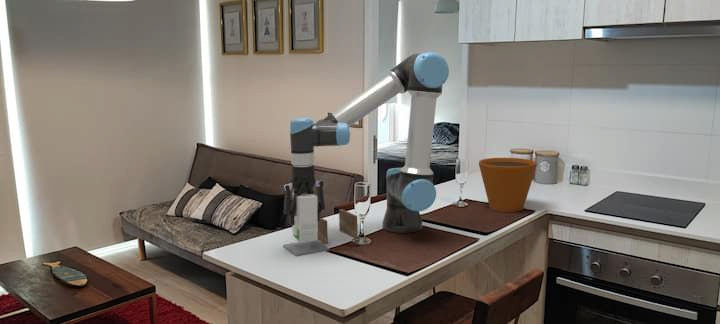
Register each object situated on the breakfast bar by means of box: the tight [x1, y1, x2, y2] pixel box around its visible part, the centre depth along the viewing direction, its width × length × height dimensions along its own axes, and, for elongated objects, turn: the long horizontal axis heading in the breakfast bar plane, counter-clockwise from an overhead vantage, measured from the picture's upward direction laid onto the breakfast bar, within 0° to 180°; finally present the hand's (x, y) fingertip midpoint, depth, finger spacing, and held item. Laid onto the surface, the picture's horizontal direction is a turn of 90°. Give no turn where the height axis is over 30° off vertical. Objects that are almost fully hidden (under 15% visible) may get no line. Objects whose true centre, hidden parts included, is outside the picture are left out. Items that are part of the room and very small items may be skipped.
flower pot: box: [478, 157, 538, 213], centre depth 229 cm, size 24×24×20 cm
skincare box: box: [291, 192, 319, 243], centre depth 180 cm, size 8×7×16 cm
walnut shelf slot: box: [317, 208, 359, 245], centre depth 194 cm, size 13×12×8 cm
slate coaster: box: [282, 240, 331, 257], centre depth 181 cm, size 12×12×1 cm
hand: (305, 232), depth 181 cm, fingers closed on skincare box, 7 cm apart
